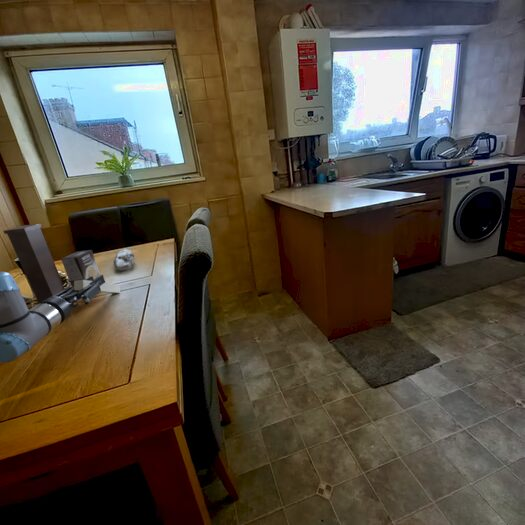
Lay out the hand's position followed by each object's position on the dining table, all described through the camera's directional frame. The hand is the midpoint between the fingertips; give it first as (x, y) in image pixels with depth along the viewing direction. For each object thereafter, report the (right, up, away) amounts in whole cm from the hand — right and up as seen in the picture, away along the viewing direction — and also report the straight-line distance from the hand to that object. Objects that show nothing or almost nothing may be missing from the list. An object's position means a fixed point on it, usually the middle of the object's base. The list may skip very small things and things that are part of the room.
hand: (97, 279), depth 96 cm
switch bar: (0, -4, 0) cm, 4 cm away
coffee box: (-11, -6, +14) cm, 18 cm away
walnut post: (-16, -11, +3) cm, 19 cm away
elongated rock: (-14, +6, +47) cm, 50 cm away
